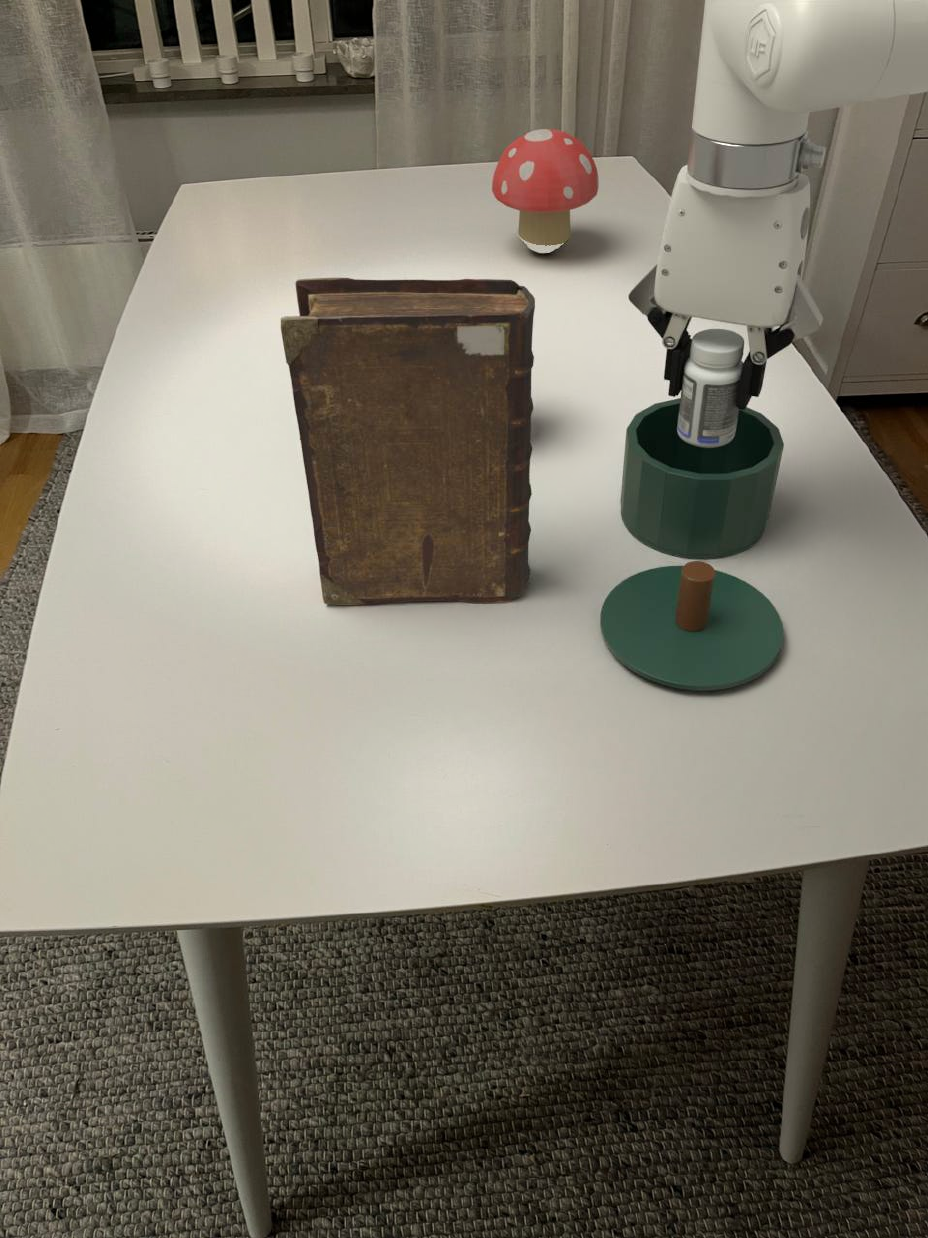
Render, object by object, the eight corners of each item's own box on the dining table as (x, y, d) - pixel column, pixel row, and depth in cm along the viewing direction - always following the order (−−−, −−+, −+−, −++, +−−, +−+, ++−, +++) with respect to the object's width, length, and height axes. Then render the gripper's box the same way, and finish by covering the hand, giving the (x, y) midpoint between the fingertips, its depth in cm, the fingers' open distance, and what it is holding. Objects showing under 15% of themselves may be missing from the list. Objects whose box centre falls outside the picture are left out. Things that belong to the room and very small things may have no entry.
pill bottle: (743, 428, 84) (759, 333, 79) (721, 455, 81) (736, 359, 76) (689, 413, 86) (701, 320, 81) (666, 439, 83) (677, 344, 78)
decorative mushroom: (479, 241, 137) (476, 122, 127) (572, 227, 140) (576, 109, 130) (512, 280, 127) (512, 154, 117) (611, 264, 130) (619, 139, 120)
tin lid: (798, 601, 80) (813, 540, 76) (757, 719, 71) (771, 656, 67) (632, 559, 85) (638, 499, 81) (573, 664, 76) (577, 603, 72)
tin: (780, 492, 92) (797, 414, 86) (746, 574, 83) (762, 493, 78) (646, 462, 96) (653, 386, 90) (600, 537, 87) (606, 458, 82)
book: (533, 565, 85) (538, 275, 68) (526, 621, 80) (529, 322, 63) (338, 554, 87) (296, 270, 70) (319, 609, 82) (269, 315, 65)
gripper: (882, 153, 69) (828, 393, 81) (641, 128, 75) (624, 356, 87) (864, 189, 64) (809, 439, 76) (607, 160, 70) (594, 397, 82)
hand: (710, 392), depth 81 cm, fingers closed on pill bottle, 4 cm apart
